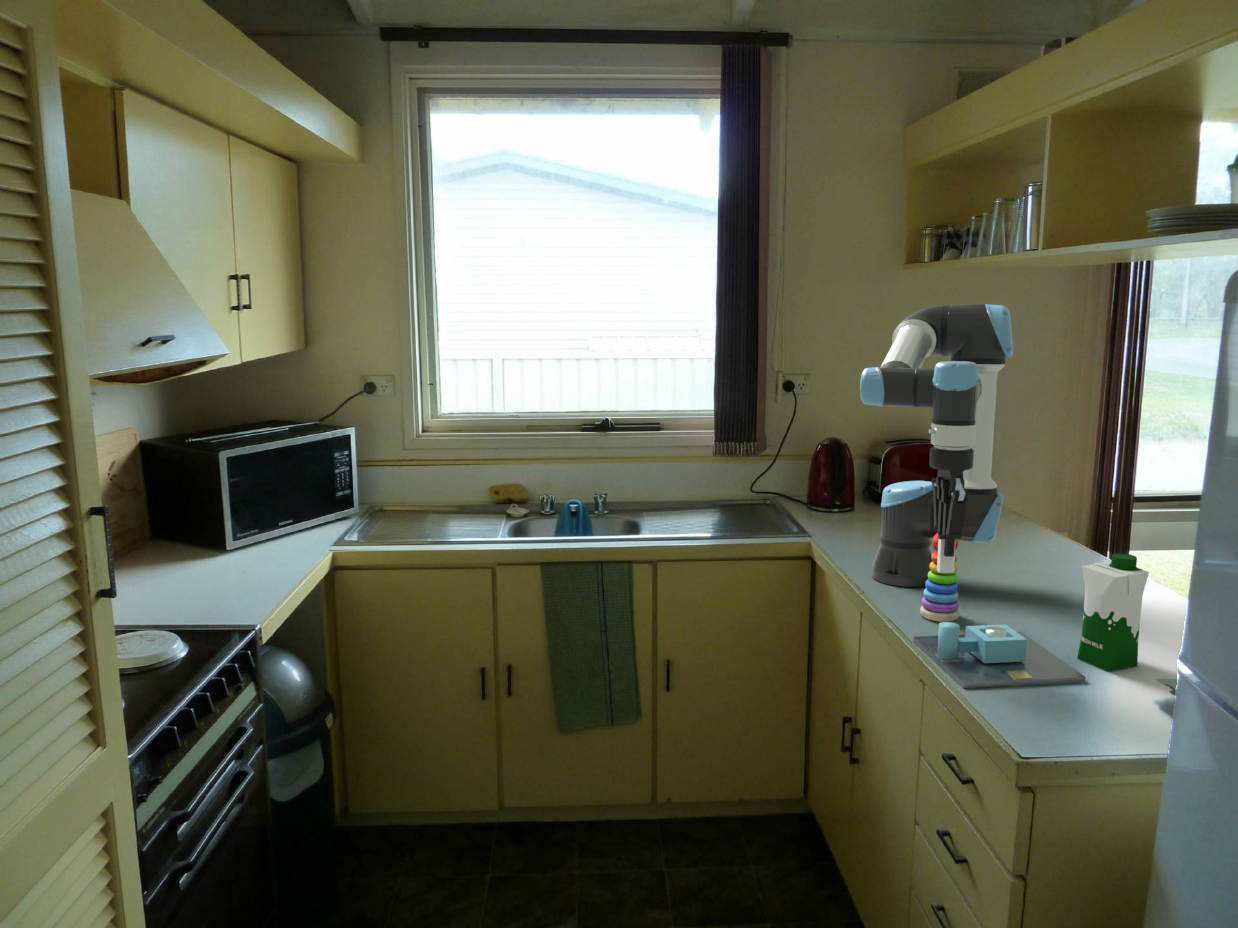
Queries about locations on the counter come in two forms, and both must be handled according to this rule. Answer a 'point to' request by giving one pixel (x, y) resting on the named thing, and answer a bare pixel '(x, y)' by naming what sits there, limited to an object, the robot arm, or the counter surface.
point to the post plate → (1002, 665)
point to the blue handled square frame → (981, 643)
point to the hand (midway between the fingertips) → (945, 571)
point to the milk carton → (1112, 613)
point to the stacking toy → (940, 592)
